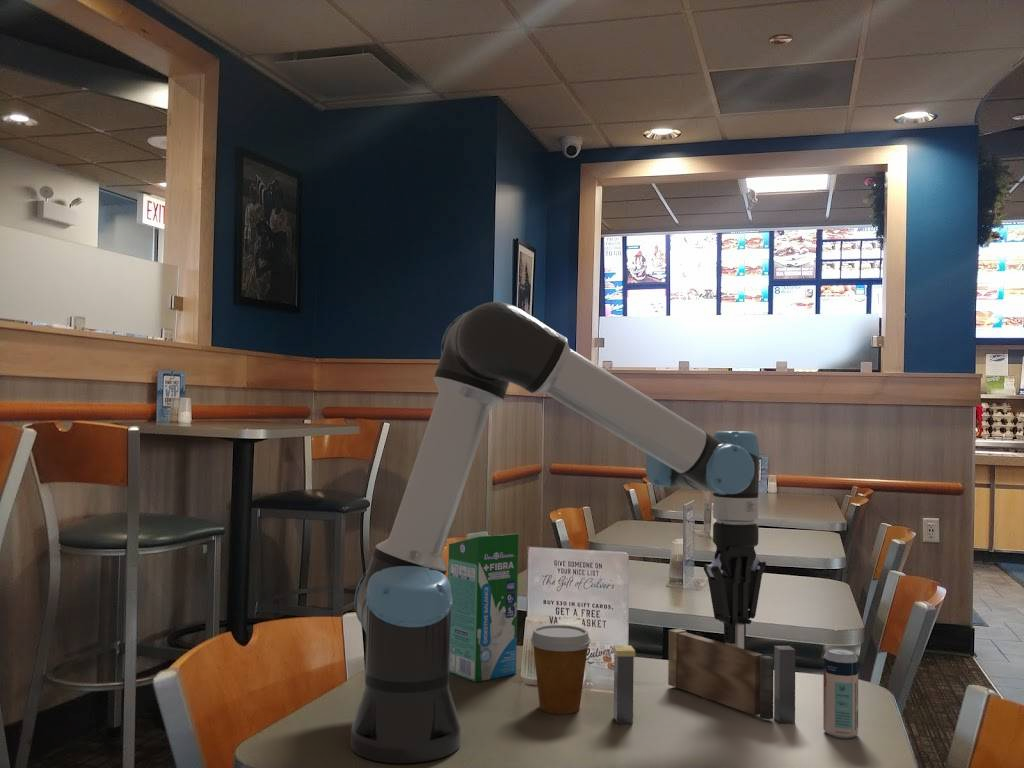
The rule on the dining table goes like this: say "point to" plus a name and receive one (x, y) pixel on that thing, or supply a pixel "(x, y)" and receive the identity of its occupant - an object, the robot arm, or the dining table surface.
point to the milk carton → (483, 606)
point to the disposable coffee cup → (560, 666)
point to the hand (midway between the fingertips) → (734, 662)
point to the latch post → (623, 683)
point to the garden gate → (721, 672)
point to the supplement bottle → (840, 693)
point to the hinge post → (784, 684)
